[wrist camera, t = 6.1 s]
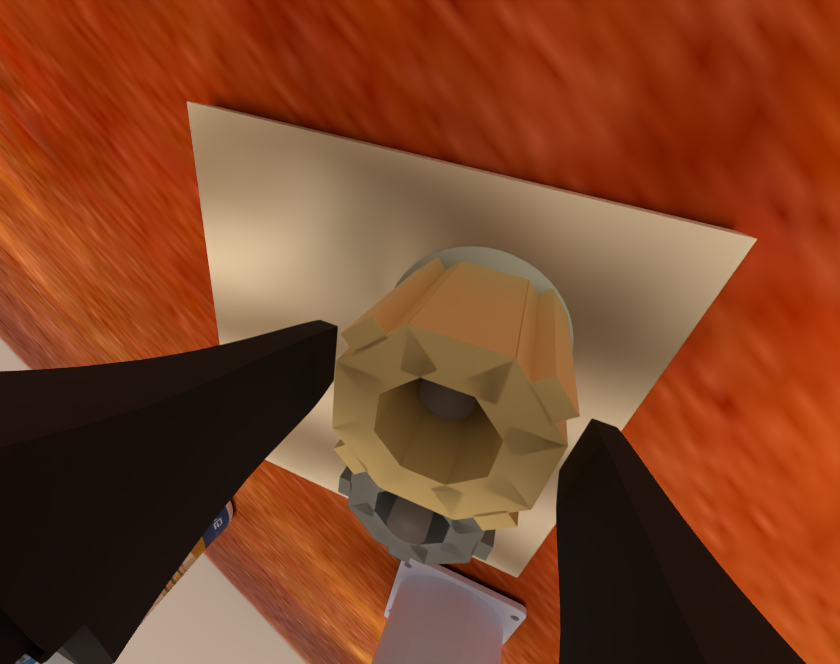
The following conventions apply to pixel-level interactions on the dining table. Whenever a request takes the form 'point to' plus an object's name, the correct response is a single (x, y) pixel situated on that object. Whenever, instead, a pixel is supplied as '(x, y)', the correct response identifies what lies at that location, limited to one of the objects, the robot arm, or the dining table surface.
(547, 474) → the ochre gear
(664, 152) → the dining table surface
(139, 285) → the dining table surface
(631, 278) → the gear board
